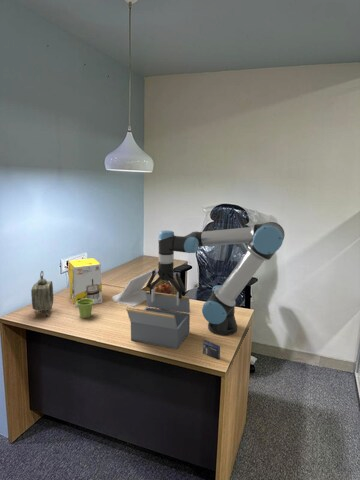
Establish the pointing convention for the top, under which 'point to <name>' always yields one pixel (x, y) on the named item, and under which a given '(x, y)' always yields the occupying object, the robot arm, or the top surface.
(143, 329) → the carton
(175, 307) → the far flap
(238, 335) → the top surface
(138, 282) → the tablet stand
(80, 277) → the packaging box
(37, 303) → the tabletop clock
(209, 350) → the mini dv tape
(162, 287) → the reddish brown bumpy lump
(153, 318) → the near flap
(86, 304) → the plant pot
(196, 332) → the top surface
